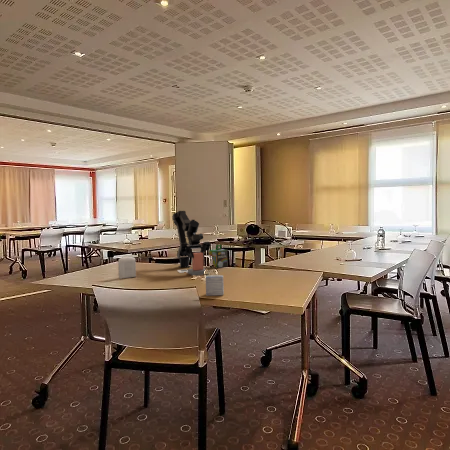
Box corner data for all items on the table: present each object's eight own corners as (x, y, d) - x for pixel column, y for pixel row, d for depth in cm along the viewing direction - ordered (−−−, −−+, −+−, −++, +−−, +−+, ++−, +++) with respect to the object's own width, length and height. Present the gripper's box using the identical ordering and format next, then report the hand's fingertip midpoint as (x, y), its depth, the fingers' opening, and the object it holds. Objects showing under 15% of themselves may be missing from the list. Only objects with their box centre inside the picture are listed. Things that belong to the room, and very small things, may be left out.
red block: (192, 269, 234) (192, 253, 233) (201, 268, 236) (200, 252, 235) (194, 270, 229) (194, 253, 229) (203, 269, 231) (203, 253, 231)
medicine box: (223, 293, 178) (223, 274, 178) (223, 295, 174) (222, 276, 173) (207, 293, 179) (206, 275, 178) (205, 295, 174) (205, 276, 174)
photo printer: (134, 276, 231) (133, 255, 230) (137, 277, 227) (136, 256, 227) (117, 278, 225) (116, 257, 225) (120, 279, 222) (119, 257, 221)
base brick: (187, 273, 235) (187, 269, 235) (203, 271, 239) (203, 267, 239) (192, 275, 226) (192, 271, 226) (208, 274, 230) (208, 270, 230)
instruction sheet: (176, 270, 247) (176, 270, 247) (198, 269, 251) (198, 268, 251) (179, 272, 237) (179, 272, 237) (201, 271, 241) (201, 270, 241)
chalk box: (220, 265, 265) (219, 243, 264) (228, 266, 258) (227, 244, 257) (209, 266, 259) (208, 244, 259) (217, 268, 252) (216, 245, 251)
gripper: (180, 230, 232) (185, 250, 222) (209, 228, 239) (215, 248, 229) (177, 242, 239) (182, 262, 230) (205, 240, 246) (211, 259, 237)
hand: (198, 257), depth 231 cm, fingers open, 6 cm apart
